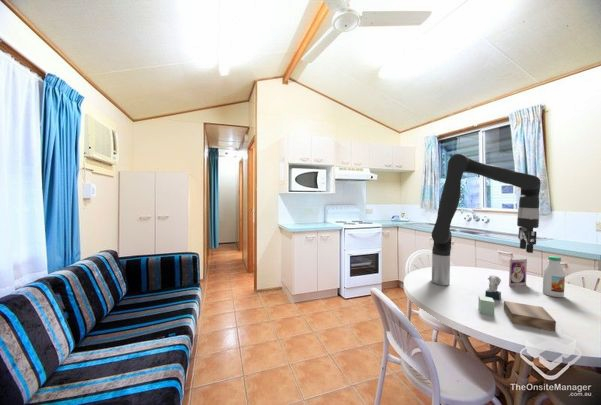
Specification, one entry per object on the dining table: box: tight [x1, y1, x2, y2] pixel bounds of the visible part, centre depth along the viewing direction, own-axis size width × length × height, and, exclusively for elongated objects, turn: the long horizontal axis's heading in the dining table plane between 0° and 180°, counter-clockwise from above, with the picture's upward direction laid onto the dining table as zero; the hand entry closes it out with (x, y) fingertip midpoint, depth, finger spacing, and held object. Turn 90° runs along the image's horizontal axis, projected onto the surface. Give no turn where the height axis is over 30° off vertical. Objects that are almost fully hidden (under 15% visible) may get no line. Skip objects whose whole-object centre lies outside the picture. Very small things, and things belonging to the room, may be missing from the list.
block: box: [477, 295, 496, 316], centre depth 109 cm, size 5×5×6 cm
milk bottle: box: [542, 255, 566, 298], centre depth 125 cm, size 8×8×20 cm
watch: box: [484, 274, 502, 301], centre depth 123 cm, size 6×8×11 cm
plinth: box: [503, 300, 557, 332], centre depth 102 cm, size 13×13×4 cm
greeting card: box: [508, 256, 528, 287], centre depth 141 cm, size 11×7×15 cm, turn 99°
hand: (526, 250), depth 117 cm, fingers open, 8 cm apart
